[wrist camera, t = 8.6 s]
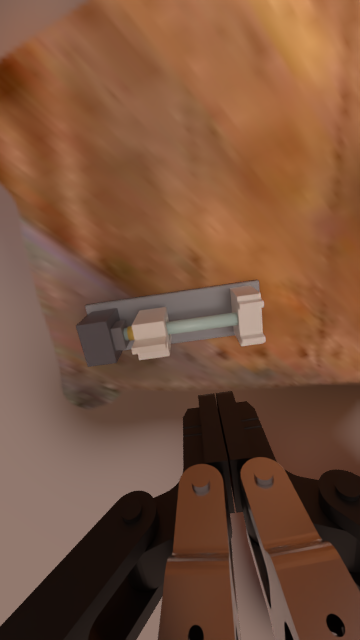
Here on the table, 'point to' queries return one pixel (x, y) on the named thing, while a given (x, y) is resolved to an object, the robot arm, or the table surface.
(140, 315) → the cream stepped block
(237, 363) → the table surface
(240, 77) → the table surface
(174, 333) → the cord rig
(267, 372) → the table surface
